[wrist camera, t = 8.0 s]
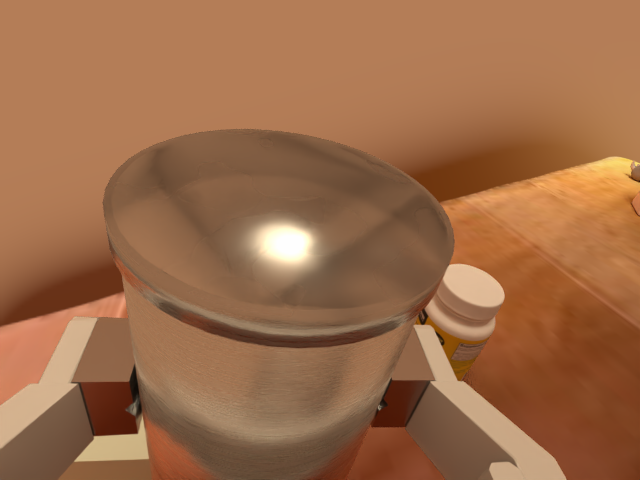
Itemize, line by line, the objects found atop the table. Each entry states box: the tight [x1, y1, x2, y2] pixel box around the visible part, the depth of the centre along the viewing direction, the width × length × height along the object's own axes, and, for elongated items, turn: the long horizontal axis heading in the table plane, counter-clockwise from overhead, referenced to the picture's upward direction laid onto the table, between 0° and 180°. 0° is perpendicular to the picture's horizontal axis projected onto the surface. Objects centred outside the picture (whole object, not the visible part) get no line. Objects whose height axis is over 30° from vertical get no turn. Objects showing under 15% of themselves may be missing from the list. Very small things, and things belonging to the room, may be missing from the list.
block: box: [58, 416, 152, 480], centre depth 22 cm, size 8×8×4 cm
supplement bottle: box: [414, 264, 504, 381], centre depth 28 cm, size 5×5×8 cm
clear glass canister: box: [103, 129, 455, 480], centre depth 9 cm, size 5×5×10 cm
